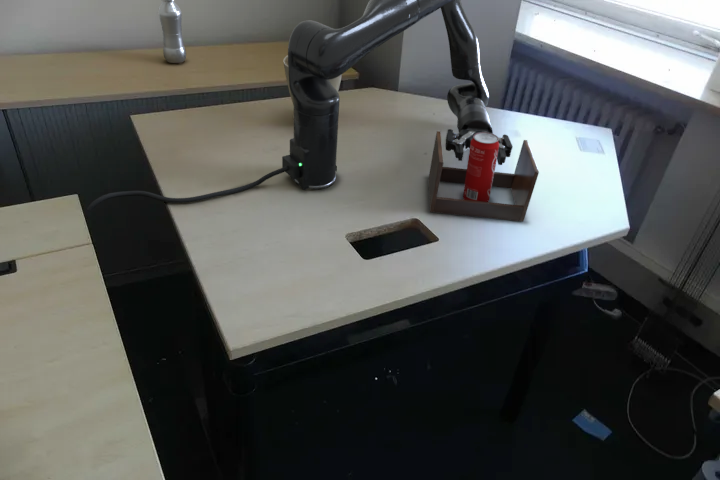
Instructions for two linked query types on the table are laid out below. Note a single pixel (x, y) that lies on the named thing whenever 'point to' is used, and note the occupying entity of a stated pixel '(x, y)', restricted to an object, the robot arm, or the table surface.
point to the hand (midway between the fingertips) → (481, 159)
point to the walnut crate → (517, 182)
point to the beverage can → (481, 167)
